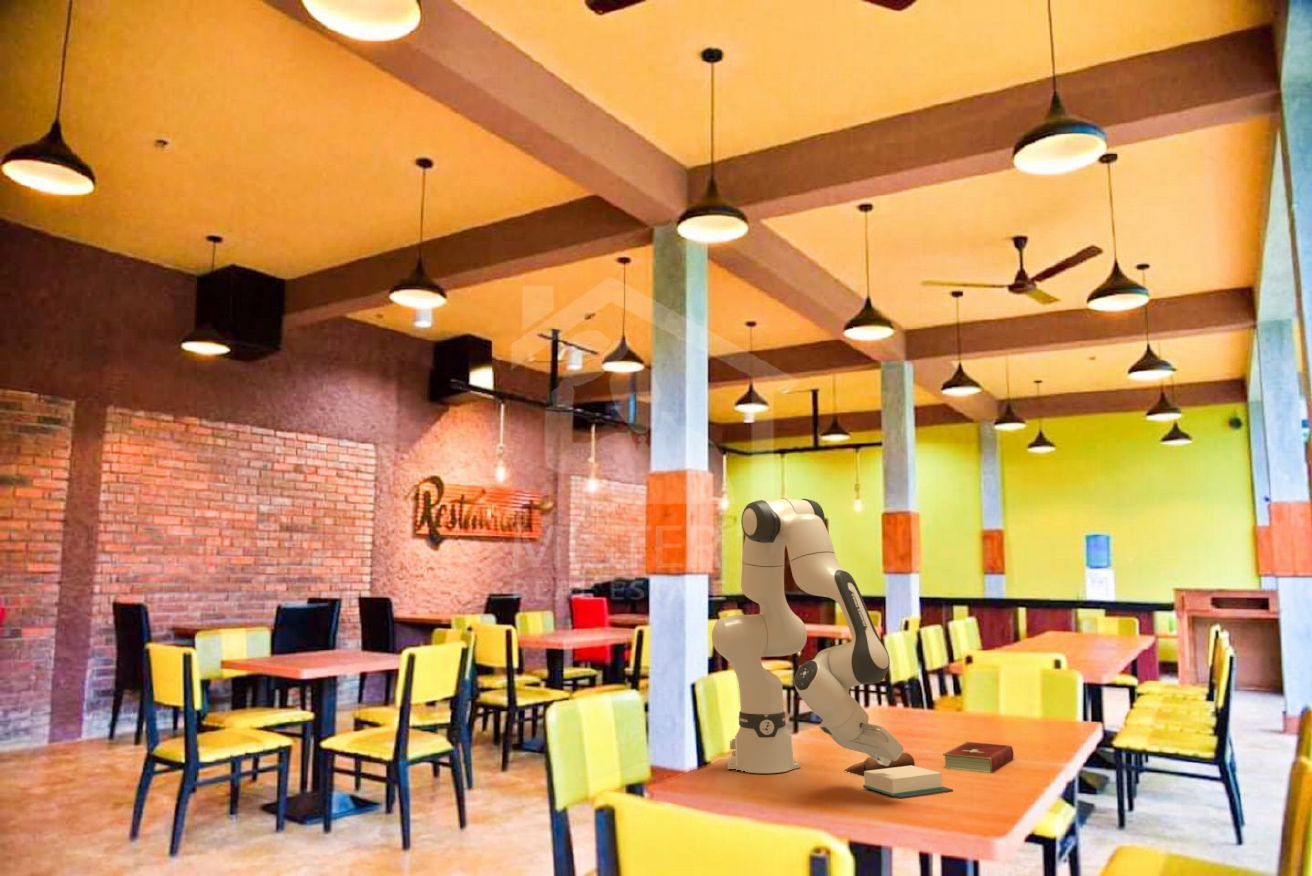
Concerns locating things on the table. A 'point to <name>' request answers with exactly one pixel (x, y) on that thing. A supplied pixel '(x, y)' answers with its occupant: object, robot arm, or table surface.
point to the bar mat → (920, 793)
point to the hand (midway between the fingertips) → (885, 762)
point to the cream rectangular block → (903, 780)
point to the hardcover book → (978, 756)
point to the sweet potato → (872, 764)
